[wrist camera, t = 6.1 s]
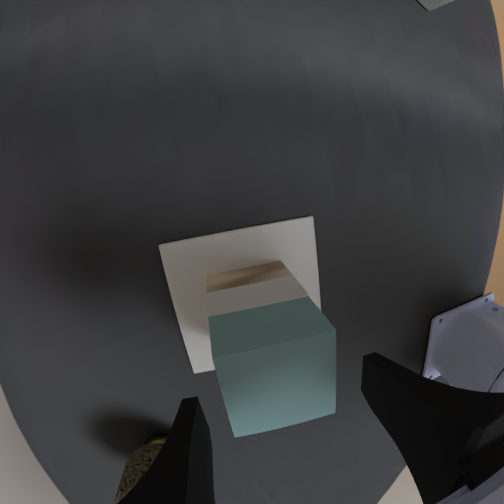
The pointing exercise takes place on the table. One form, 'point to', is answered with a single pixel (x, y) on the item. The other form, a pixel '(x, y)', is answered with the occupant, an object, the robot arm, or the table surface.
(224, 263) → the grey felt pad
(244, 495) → the table surface
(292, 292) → the light grey block
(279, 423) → the teal block
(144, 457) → the olive lace dome
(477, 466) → the robot arm
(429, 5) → the skincare box
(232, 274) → the beech slab
